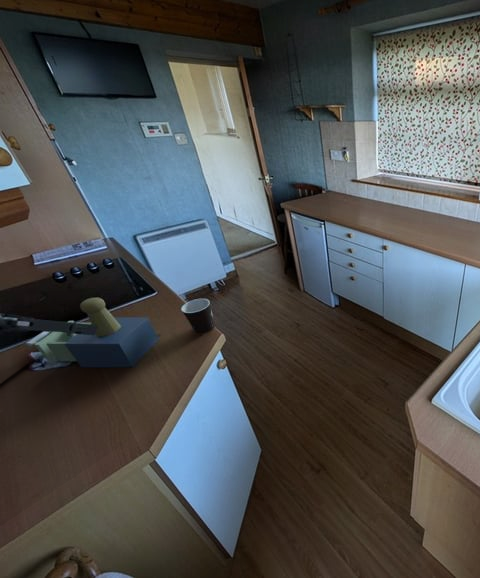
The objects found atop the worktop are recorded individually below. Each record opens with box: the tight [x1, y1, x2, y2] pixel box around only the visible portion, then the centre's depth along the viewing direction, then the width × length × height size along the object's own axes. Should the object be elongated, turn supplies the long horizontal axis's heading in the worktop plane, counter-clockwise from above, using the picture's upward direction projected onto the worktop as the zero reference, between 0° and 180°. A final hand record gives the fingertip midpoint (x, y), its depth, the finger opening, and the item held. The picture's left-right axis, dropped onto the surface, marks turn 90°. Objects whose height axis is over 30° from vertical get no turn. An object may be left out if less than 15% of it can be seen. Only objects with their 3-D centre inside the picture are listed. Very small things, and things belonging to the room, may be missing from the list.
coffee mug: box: [181, 298, 215, 335], centre depth 105 cm, size 12×9×10 cm
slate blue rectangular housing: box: [65, 317, 160, 368], centre depth 92 cm, size 16×13×10 cm
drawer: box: [25, 320, 91, 365], centre depth 92 cm, size 20×11×8 cm, turn 91°
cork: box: [79, 297, 121, 336], centre depth 87 cm, size 6×6×11 cm
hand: (72, 328), depth 80 cm, fingers open, 13 cm apart
